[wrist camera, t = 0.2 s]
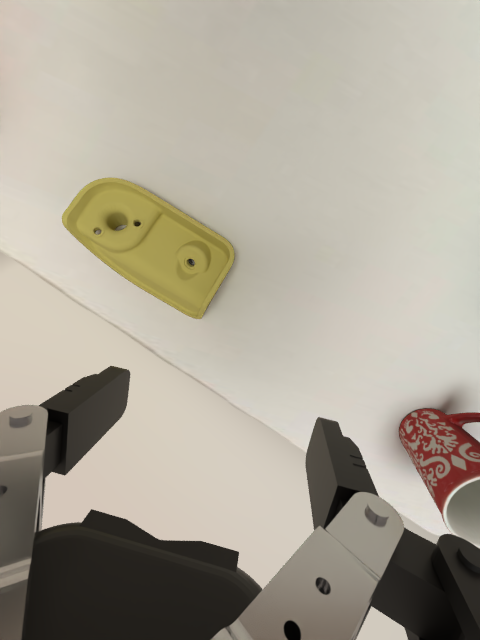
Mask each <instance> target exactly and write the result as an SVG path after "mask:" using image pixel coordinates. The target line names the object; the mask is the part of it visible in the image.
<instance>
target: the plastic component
mask: <svg viewBox="0 0 480 640" xmlns="http://www.w3.org/2000/svg"><path fill="white" fill-rule="evenodd" d="M136 222H140V223H141V225H140V226H138V227H137V226H134V224H135V223H136ZM62 223H63V225H64V227H65V228H66V229H67V230H68V231H69V232H70V233H71V234H72V235H73V236H74V237H75V238H76V239H77V240H78V241H79V242H81V243H82V244H83V245H84V246H85V247H86V248H87V249H88V250H90V251H91V252H92V253H93V254H94V255H95V256H97V257H98V258H99V259H100V260H101V261H103V262H104V263H105V264H107V265H108V266H109V267H110V268H112V269H113V270H114V271H116V272H117V273H119V274H120V275H121V276H123V277H124V278H126V279H127V280H129V281H130V282H132V283H133V284H135V285H136V286H138V287H140V288H141V289H143V290H145V291H146V292H148V293H150V294H151V295H153V296H155V297H157V298H158V299H160V300H162V301H163V302H165V303H167V304H169V305H170V306H172V307H174V308H175V309H177V310H179V311H181V312H182V313H184V314H186V315H188V316H190V317H192V318H196V319H201V318H202V316H203V314H204V312H205V310H206V309H207V307H208V305H209V303H210V302H211V300H212V298H213V297H214V295H215V293H216V292H217V290H218V288H219V287H220V285H221V283H222V282H223V280H224V278H225V277H226V275H227V273H228V272H229V270H230V268H231V266H232V264H233V261H234V250H233V247H232V245H231V244H230V243H229V242H228V241H227V240H226V239H225V238H223V237H222V236H220V235H218V234H217V233H215V232H213V231H212V230H210V229H209V228H207V227H205V226H204V225H202V224H200V223H199V222H197V221H196V220H194V219H192V218H191V217H189V216H187V215H186V214H184V213H183V212H181V211H179V210H178V209H176V208H174V207H173V206H171V205H170V204H168V203H166V202H165V201H163V200H162V199H160V198H158V197H157V196H155V195H153V194H152V193H150V192H148V191H147V190H145V189H143V188H141V187H139V186H137V185H135V184H133V183H131V182H129V181H126V180H123V179H118V178H103V179H98V180H95V181H93V182H91V183H89V184H88V185H86V186H85V187H84V188H83V189H82V190H81V191H80V192H79V193H78V194H77V196H76V197H75V198H74V200H73V201H72V202H71V204H70V205H69V206H68V208H67V209H66V210H65V212H64V213H63V215H62ZM119 225H127V226H126V227H125V228H124V229H123V230H120V231H115V229H116V227H118V226H119ZM96 230H102V231H101V233H100V234H98V235H97V234H95V232H96ZM189 259H193V260H194V262H195V265H190V264H189V262H188V260H189Z"/></svg>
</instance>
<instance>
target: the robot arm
mask: <svg viewBox="0 0 480 640" xmlns="http://www.w3.org/2000/svg"><path fill="white" fill-rule="evenodd" d="M129 381H130V372H129V370H127V369H122V368H118V367H114V366H110V367H108V368H107V369H105V370H104V371H102V372H101V373H99V374H98V375H97V374H94V375H90V376H87V377H84V378H82V379H80V380H78V381H77V382H75V383H74V384H73V385H71V386H69V387H67V388H66V389H65V390H63V391H61V392H59V393H58V394H56V395H55V396H53V397H51V398H50V399H49V400H47V401H45V402H44V403H42V404H40V405H39V406H36V405H22V406H16V407H12V408H9V409H6V410H4V411H2V412H0V640H356V638H357V636H358V634H359V632H360V629H361V627H362V625H363V623H364V621H365V619H366V617H367V615H368V612H369V610H370V608H371V606H372V607H374V608H375V609H377V610H378V611H380V612H382V613H383V614H385V615H386V616H388V617H389V618H391V619H392V620H394V621H396V622H397V623H399V624H400V625H402V626H403V627H405V630H406V633H407V637H408V640H480V549H479V548H478V547H476V546H475V545H473V544H472V543H470V542H469V541H467V540H465V539H463V538H461V537H458V536H456V535H452V534H444V535H441V536H440V537H439V540H438V542H437V544H433V543H432V542H430V541H428V540H426V539H424V538H422V537H420V536H418V535H417V534H414V533H413V532H411V531H409V530H407V529H406V528H404V524H403V521H402V519H401V517H400V515H399V514H398V512H397V511H396V510H395V509H394V508H393V507H392V506H391V505H390V504H389V503H388V502H386V501H385V500H383V499H382V498H380V497H379V496H378V493H377V491H376V489H375V486H374V484H373V481H372V479H371V477H370V474H369V472H368V470H367V469H366V465H365V462H364V460H363V458H362V455H361V453H360V451H359V448H358V447H357V446H356V445H355V444H354V442H353V441H352V440H351V439H350V438H348V437H344V436H343V435H342V432H341V430H340V427H339V424H338V422H336V421H332V420H328V419H324V418H320V417H318V418H317V420H316V423H315V426H314V429H313V433H312V436H311V439H310V443H309V446H308V450H307V454H306V472H307V480H308V486H309V494H310V502H311V509H312V517H313V524H314V532H313V533H312V534H311V535H310V536H309V537H308V538H307V540H306V541H305V542H304V543H303V544H302V545H301V546H300V548H299V549H298V550H297V551H296V552H295V553H294V554H293V556H292V557H291V558H290V559H289V560H288V561H287V563H286V564H285V565H284V566H283V567H282V568H281V569H280V571H279V572H278V573H277V574H276V575H275V576H274V577H273V578H272V580H271V581H270V582H269V583H268V584H267V585H266V587H265V588H264V589H263V590H262V588H261V587H260V586H259V585H258V584H257V583H256V582H255V581H254V580H253V579H252V578H251V577H250V576H249V575H248V574H246V573H245V572H244V571H242V570H241V569H239V568H238V567H237V563H238V556H239V552H237V551H234V550H230V549H227V548H223V547H220V546H217V545H213V544H209V543H206V542H202V541H164V540H158V539H157V538H155V537H153V536H152V535H150V534H149V533H147V532H145V531H144V530H142V529H141V528H139V527H138V526H136V525H134V524H133V523H131V522H130V521H128V520H126V519H123V518H119V517H116V516H112V515H109V514H106V513H102V512H99V511H95V510H91V511H90V512H89V513H88V515H87V516H86V518H85V519H84V521H83V522H82V523H68V524H62V525H57V526H54V527H50V528H47V529H44V530H41V527H42V516H43V504H44V493H45V477H46V476H48V475H49V474H50V473H51V472H55V473H58V474H62V475H66V474H67V473H68V472H69V471H70V470H71V469H72V468H73V467H74V466H75V465H76V464H77V463H78V461H79V460H80V459H81V458H82V457H83V456H84V455H85V454H86V453H87V452H88V451H89V450H90V449H91V448H92V447H93V446H94V445H95V444H96V443H97V442H98V441H99V440H100V439H101V438H102V436H104V435H105V434H106V432H107V431H108V430H109V429H110V428H111V427H112V426H113V425H114V424H115V423H116V422H117V421H118V420H119V419H120V418H121V417H122V415H123V413H124V411H125V409H126V406H127V398H128V390H129Z"/></svg>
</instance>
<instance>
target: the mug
mask: <svg viewBox="0 0 480 640" xmlns="http://www.w3.org/2000/svg"><path fill="white" fill-rule="evenodd" d="M471 422H480V413H459V414H451V415H446V414H445V413H443V412H441V411H439V410H436V409H420V410H416V411H414V412H412V413H410V414H409V415H407V416H406V417H405V418H404V419H403V421H402V423H401V425H400V428H399V436H400V439H401V442H402V444H403V445H404V447H405V449H406V451H407V452H408V454H409V456H410V458H411V460H412V462H413V463H414V465H415V467H416V469H417V471H418V473H419V474H420V476H421V478H422V480H423V481H424V483H425V485H426V487H427V489H428V491H429V493H430V494H431V496H432V498H433V500H434V502H435V503H436V505H437V507H438V509H439V511H440V512H441V514H442V518H443V521H444V523H445V525H446V527H447V528H448V530H449V531H450V532H451V533H452V534H453V535H456V536H458V537H461V538H463V539H465V540H467V541H469V542H470V543H472V544H473V545H475V546H476V547H478V548H480V443H479V442H478V441H477V440H476V439H475V438H473V437H472V436H471V435H470V434H469V433H467V432H466V431H465V430H464V429H463V428H462V426H463V425H464V424H465V423H471Z"/></svg>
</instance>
